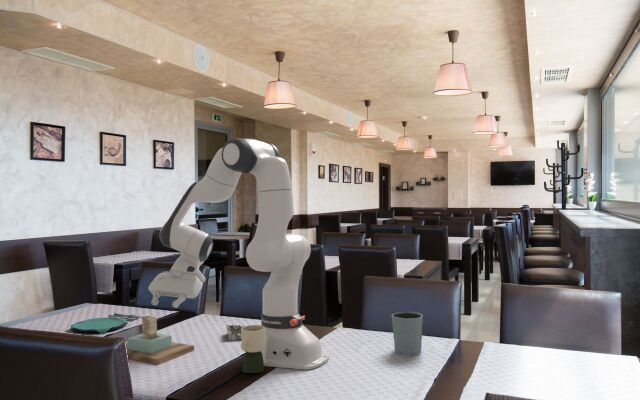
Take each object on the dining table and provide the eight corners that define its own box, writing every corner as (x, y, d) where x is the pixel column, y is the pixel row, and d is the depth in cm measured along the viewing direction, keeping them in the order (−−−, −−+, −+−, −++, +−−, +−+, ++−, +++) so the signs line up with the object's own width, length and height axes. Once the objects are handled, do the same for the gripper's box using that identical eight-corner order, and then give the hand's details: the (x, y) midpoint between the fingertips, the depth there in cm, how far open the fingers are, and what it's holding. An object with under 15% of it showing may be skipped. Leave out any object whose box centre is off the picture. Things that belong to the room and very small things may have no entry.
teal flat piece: (59, 332, 197) (59, 326, 197) (111, 316, 226) (111, 310, 226) (103, 337, 191) (103, 330, 191) (151, 319, 220) (151, 314, 220)
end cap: (171, 345, 173) (171, 335, 173) (151, 353, 165) (151, 342, 165) (148, 341, 178) (148, 331, 178) (127, 349, 170) (127, 338, 170)
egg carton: (248, 340, 185) (248, 329, 185) (227, 341, 184) (226, 330, 184) (246, 332, 196) (246, 321, 196) (226, 333, 194) (226, 322, 194)
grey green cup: (422, 356, 165) (422, 319, 164) (390, 355, 167) (390, 317, 167) (422, 347, 175) (422, 311, 174) (392, 345, 177) (392, 310, 176)
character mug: (252, 364, 158) (252, 322, 158) (273, 367, 155) (272, 324, 155) (232, 376, 148) (232, 331, 148) (254, 380, 145) (254, 333, 145)
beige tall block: (157, 347, 172) (156, 317, 172) (151, 349, 170) (151, 318, 169) (148, 345, 174) (147, 315, 173) (142, 347, 171) (142, 317, 171)
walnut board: (194, 350, 173) (194, 345, 173) (159, 364, 159) (159, 359, 159) (141, 341, 184) (141, 337, 184) (104, 353, 170) (104, 349, 170)
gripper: (156, 266, 188) (136, 297, 180) (201, 268, 179) (182, 302, 171) (165, 276, 192) (146, 308, 184) (209, 279, 183) (191, 313, 175)
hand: (163, 305), depth 177 cm, fingers open, 8 cm apart
